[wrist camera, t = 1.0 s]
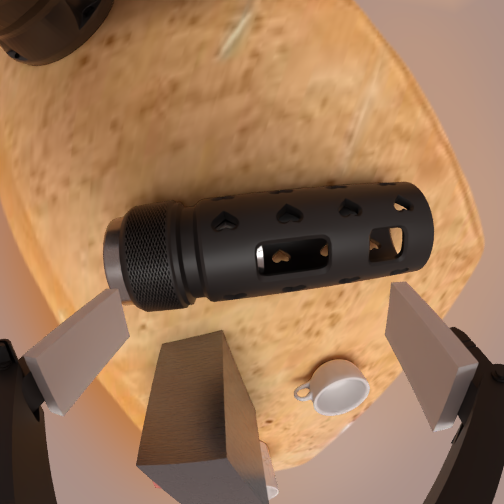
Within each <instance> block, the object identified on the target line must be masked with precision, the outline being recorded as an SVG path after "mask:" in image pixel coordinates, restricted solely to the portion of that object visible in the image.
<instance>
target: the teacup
mask: <svg viewBox="0 0 504 504" xmlns="http://www.w3.org/2000/svg"><path fill="white" fill-rule="evenodd" d="M304 388H308V389H309V390H310V391H309V393H308V394H307V395H306V396H305V397H299V396H298V395H297V392H298V391H299V390H301V389H304ZM369 390H370V386H369V383H368V382H367V380H366V378H365V377H364V375H363V374H362V372H361V371H360V370H359V369H358V367H357V366H355V365H354V364H353V363H351V362H350V361H347V360H342V359H336V360H331V361H328V362H326V363H324V364H322V365H321V366H320V367H319V368H318V369H317V370H316V371H315V372H314V374H313V376H312V378H311V380H310V381H308V382H306V383H304V384H302V385H300V386H299V387H297V388H296V389H295V391H294V396H295V398H296V399H297V400H299V401H307V400H312V402H313V405H314V409H315V410H316V411H317V412H318V413H320V414H322V415H327V416H334V415H340V414H343V413H346V412H348V411H351V410H352V409H354V408H356V407H357V406H359V405H360V404H361V403H362V402H363V401H364V400H365V399H366V397H367V396H368V393H369Z"/></svg>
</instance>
